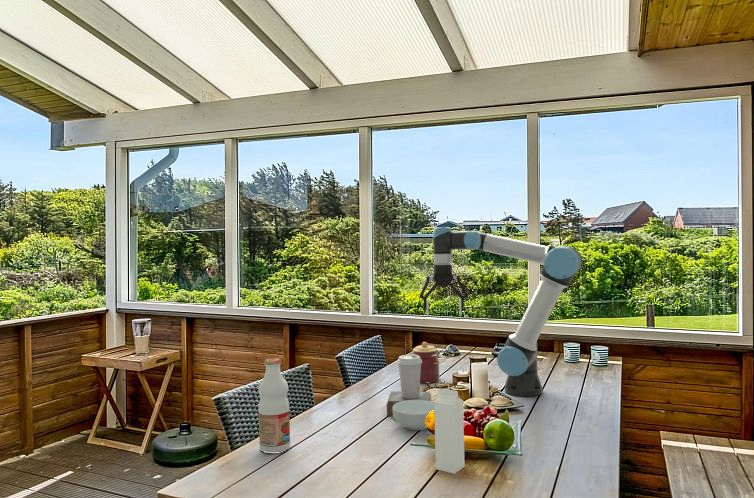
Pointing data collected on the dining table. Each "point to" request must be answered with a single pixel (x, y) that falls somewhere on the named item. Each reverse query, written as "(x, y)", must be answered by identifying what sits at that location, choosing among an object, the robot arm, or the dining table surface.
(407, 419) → the cereal bowl
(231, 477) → the dining table surface
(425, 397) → the grey flat block
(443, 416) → the milk
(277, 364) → the fruit juice
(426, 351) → the canister
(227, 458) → the dining table surface
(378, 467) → the dining table surface
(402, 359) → the coffee cup
